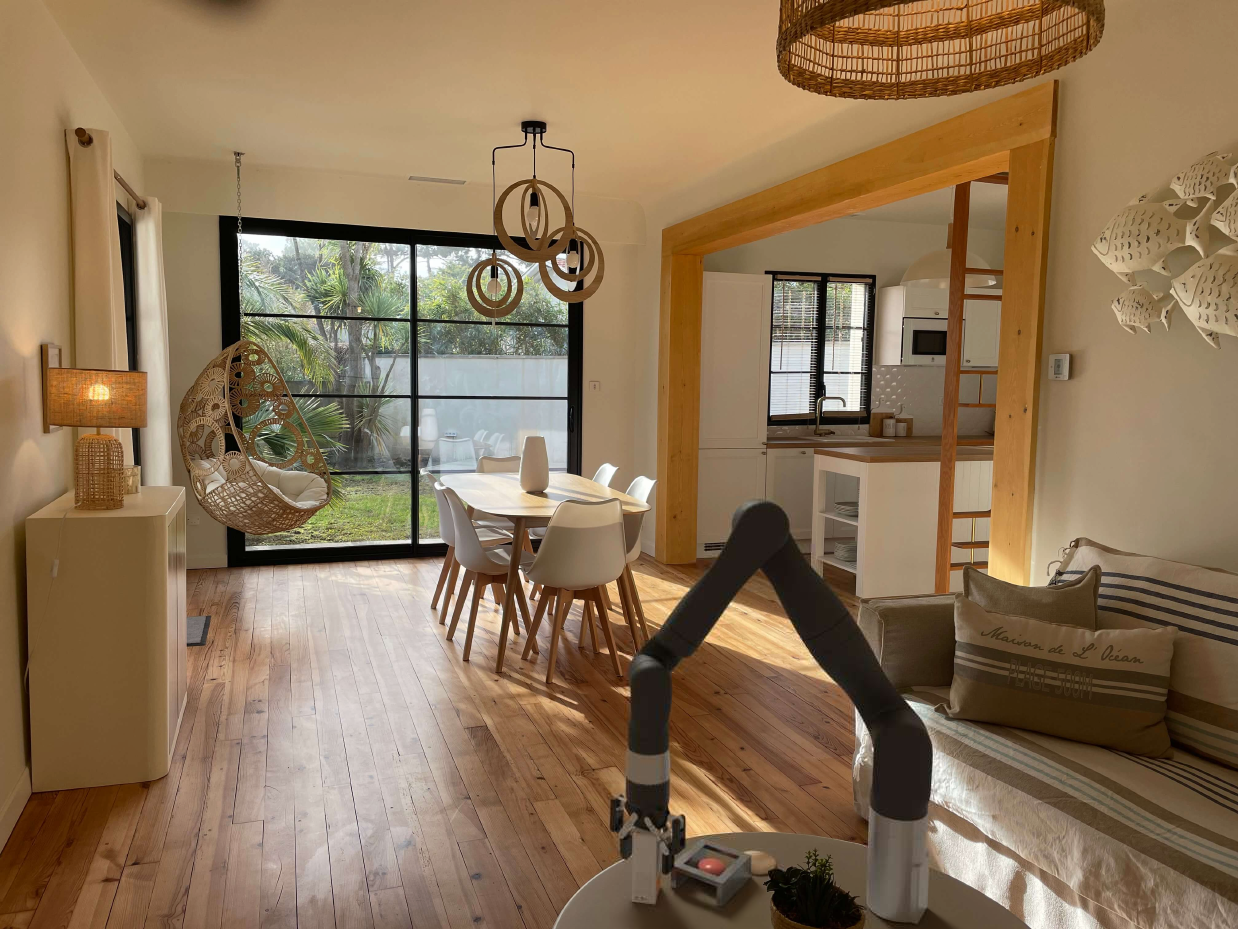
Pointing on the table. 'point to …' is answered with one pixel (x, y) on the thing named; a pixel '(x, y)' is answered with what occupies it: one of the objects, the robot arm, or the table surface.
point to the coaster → (761, 862)
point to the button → (711, 866)
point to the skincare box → (645, 867)
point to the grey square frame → (725, 882)
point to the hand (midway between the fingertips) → (646, 865)
